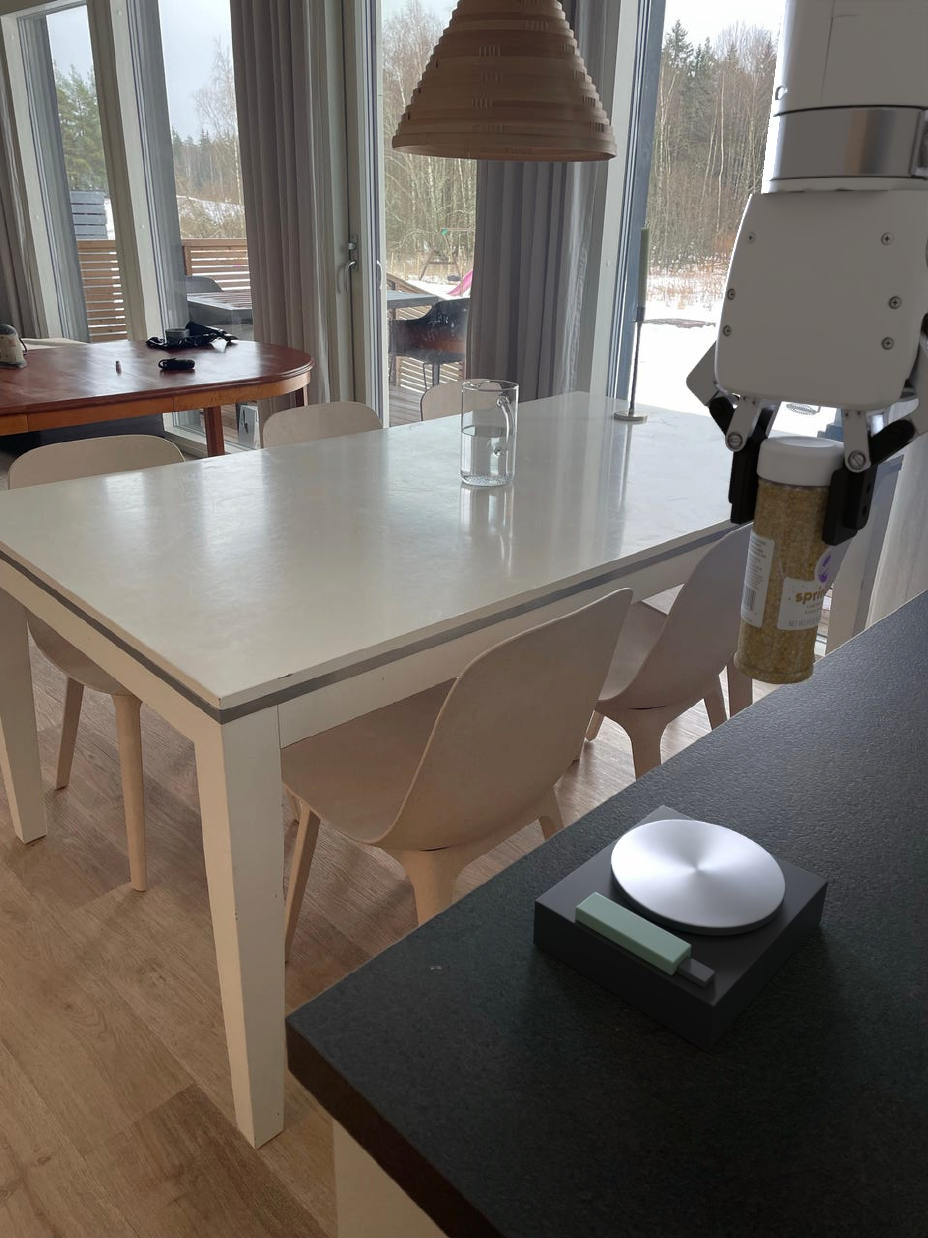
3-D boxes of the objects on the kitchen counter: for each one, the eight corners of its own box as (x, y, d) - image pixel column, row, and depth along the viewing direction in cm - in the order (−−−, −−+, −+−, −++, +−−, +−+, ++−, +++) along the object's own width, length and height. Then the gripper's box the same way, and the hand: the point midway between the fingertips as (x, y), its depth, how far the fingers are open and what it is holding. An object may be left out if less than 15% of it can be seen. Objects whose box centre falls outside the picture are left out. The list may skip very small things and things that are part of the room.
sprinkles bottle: (810, 693, 52) (851, 453, 47) (726, 679, 53) (756, 445, 48) (814, 661, 56) (852, 436, 50) (736, 649, 57) (765, 430, 52)
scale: (658, 843, 61) (663, 793, 60) (820, 922, 54) (831, 868, 53) (532, 943, 52) (535, 888, 51) (707, 1053, 45) (715, 993, 44)
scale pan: (667, 809, 59) (668, 801, 59) (813, 876, 53) (815, 867, 53) (576, 878, 52) (577, 870, 52) (731, 964, 46) (732, 954, 46)
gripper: (1069, 157, 41) (979, 548, 48) (726, 171, 52) (693, 489, 59) (1020, 145, 36) (927, 584, 43) (651, 164, 47) (625, 512, 54)
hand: (792, 525), depth 51 cm, fingers closed on sprinkles bottle, 4 cm apart
